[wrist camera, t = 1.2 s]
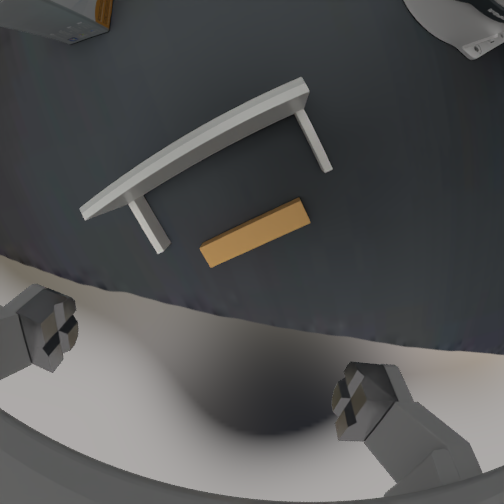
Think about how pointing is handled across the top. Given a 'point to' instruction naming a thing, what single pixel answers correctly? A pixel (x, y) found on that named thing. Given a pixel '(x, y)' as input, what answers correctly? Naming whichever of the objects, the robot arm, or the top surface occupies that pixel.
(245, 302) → the top surface
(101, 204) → the panel
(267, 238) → the wooden block
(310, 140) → the duct
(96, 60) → the top surface
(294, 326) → the top surface
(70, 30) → the hard drive box
